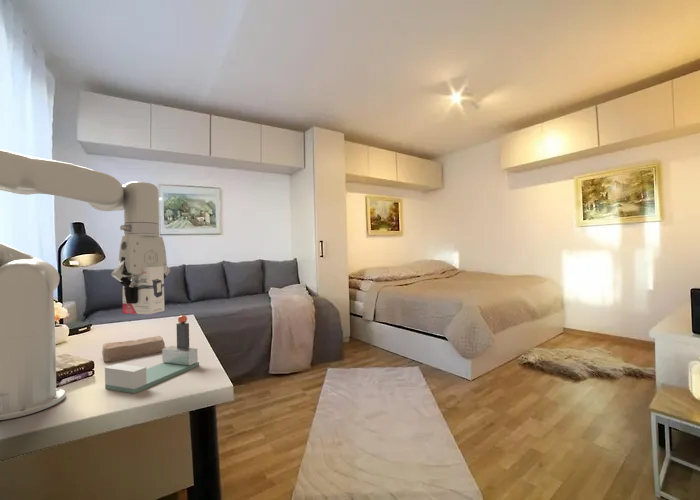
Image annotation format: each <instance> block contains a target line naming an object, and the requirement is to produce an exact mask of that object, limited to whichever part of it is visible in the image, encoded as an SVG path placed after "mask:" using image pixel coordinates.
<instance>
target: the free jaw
mask: <svg viewBox="0 0 700 500" xmlns="http://www.w3.org/2000/svg"><path fill="white" fill-rule="evenodd" d="M187 321H188V317H187V315H184V314H182V315H179V317H178V318H177V322H178V323H176V324H175V325H176V346H175V345H171V346H167V347H165V348H164V349H162V352H161V354H162V355H161V356H162V363H164V362H165V363H173V364H181V365H191V364H194V363H196V362H199V361H198V359H199V357H198V348H195V347H190V324H189V322H187Z"/></svg>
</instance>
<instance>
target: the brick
mask: <svg viewBox="0 0 700 500" xmlns="http://www.w3.org/2000/svg"><path fill="white" fill-rule="evenodd" d="M165 346H166V345H165V342H164V338H163V337H162V336H161V335H156V336H153V337H152V336H150V337H146V338H139V339H136V340H135V339H134V340H132V339H131V340H126V341H117V342H116V341H115V342H107V343H104V344H103V345H102V351H101V352H102V359H103V361H104V362H105V363H106V362H115V361H121V360H125V359H130V358H132V359H133V358H137V357H141V356H148V355H153V354H157V353H162V349H164V348H166V347H165Z"/></svg>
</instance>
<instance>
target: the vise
mask: <svg viewBox="0 0 700 500" xmlns="http://www.w3.org/2000/svg"><path fill="white" fill-rule="evenodd" d="M199 366H200V362H199V361H198V362H196V363H194V364H191V365H181V364H173V363H165V362H161V363H158V364H156V365H153V366H151V367H148V368H147V367H146V366H140V365H133V364H132V365H130V364H123V363H114V364H112V365H109V366H106V367H104V383H105V385H104V387H105V389H108V390H112V391H116V392H117V391H118V392H124V393H130V394H136V393H139V392H141V391H143V390H147V388H150V387H152V386H155V385H157V384H160V383H162V382H165V381H166V380H168V379H171V378H173V377H175V376H178V375H181V374H183V373H185V372H187V371H190V370H192V369H194V368H197V367H199Z"/></svg>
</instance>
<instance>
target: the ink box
mask: <svg viewBox="0 0 700 500" xmlns="http://www.w3.org/2000/svg"><path fill="white" fill-rule="evenodd" d="M130 274H131V273H130ZM123 276H124V277H125V275H123ZM164 280H165V279H164V267H162V266H156V267H147V268H143V275H138V277H137V281H136V284H135V287H137V289H138V302H137V303H135V304H131V303H126V294H125V287H123V286H122V314H123V315H124V314H126V315H152V314H157V313H161V312H164V311H165V310H166V309H165V281H164Z"/></svg>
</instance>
